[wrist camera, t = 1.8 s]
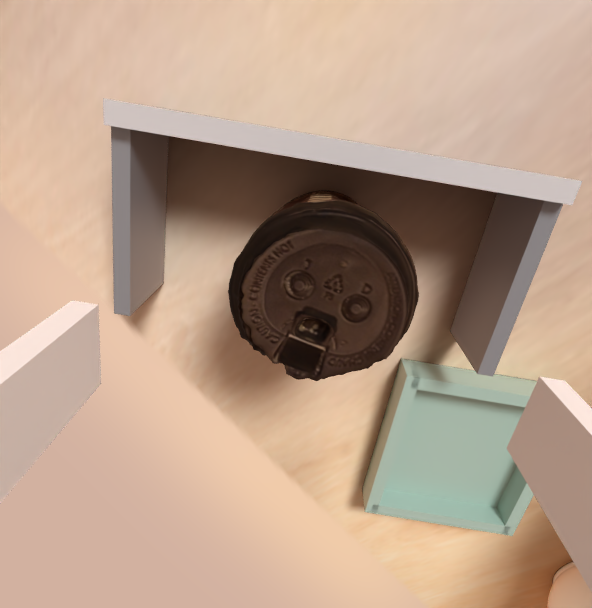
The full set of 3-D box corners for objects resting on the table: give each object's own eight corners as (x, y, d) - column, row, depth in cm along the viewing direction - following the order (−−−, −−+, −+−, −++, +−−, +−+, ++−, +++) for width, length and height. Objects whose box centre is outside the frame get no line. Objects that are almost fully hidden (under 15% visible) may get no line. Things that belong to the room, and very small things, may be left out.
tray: (562, 385, 33) (580, 404, 31) (500, 511, 38) (512, 535, 36) (401, 358, 33) (407, 375, 31) (362, 488, 38) (364, 511, 36)
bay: (521, 169, 27) (582, 180, 21) (462, 333, 32) (497, 383, 25) (154, 105, 27) (103, 98, 20) (150, 280, 31) (108, 318, 25)
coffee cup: (294, 310, 32) (278, 420, 20) (237, 213, 29) (179, 272, 17) (401, 259, 30) (455, 347, 18) (350, 150, 27) (374, 167, 15)
